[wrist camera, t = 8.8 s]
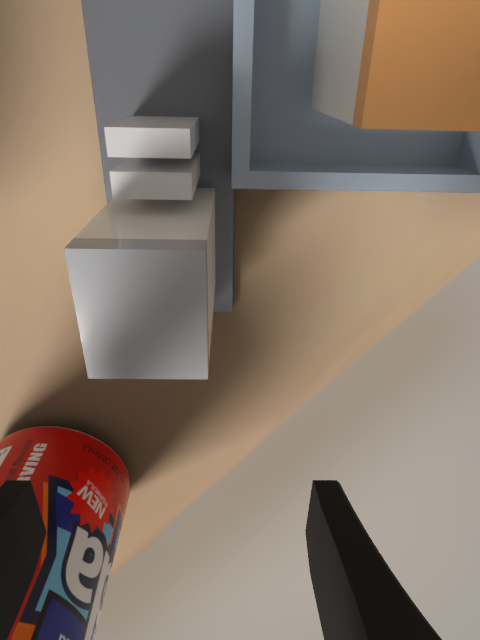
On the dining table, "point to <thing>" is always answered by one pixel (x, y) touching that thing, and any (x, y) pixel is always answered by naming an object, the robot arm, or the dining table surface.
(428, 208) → the dining table surface
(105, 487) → the soda can
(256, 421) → the dining table surface
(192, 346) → the block
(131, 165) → the board
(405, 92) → the block
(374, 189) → the tray
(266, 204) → the dining table surface
